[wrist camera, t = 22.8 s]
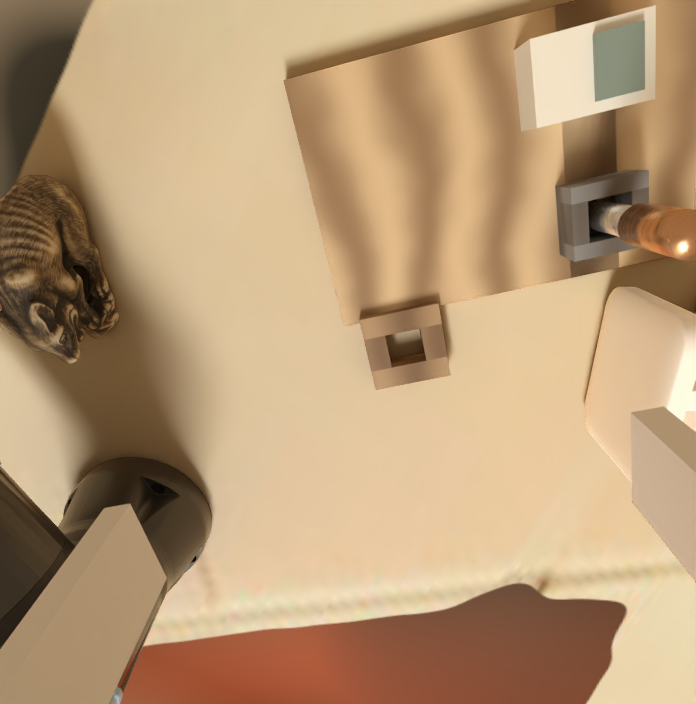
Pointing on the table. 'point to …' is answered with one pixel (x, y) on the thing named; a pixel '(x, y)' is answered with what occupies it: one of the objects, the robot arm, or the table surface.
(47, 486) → the table surface
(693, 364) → the cable organizer
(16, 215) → the figurine
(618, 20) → the block
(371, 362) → the tool rest
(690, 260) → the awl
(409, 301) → the plywood panel
